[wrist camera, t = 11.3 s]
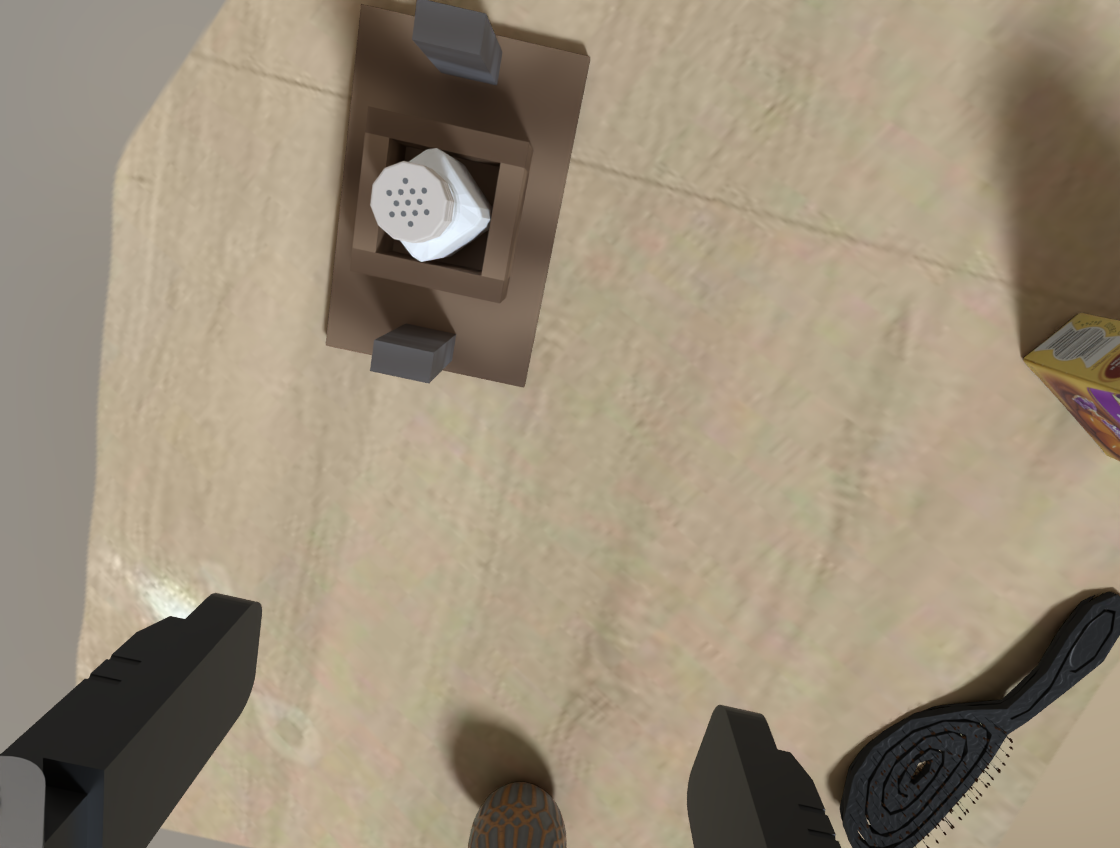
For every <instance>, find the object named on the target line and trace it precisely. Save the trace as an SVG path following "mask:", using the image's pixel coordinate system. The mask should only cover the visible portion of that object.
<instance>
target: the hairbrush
mask: <svg viewBox="0 0 1120 848" xmlns="http://www.w3.org/2000/svg"><path fill="white" fill-rule="evenodd" d="M1096 595H1097V594H1096ZM1094 596H1095V595H1094ZM1094 596H1092V597H1089V598H1087V599H1085V600H1083V601H1082V602H1081V603H1080V604H1079V605H1078V607H1077V608H1076V609H1075V610H1074V612H1073V613H1072V614H1071V615H1070V617H1069V618H1068V619H1067V621H1066V622H1065V623H1064V624H1063V626H1062V627H1061V628H1060V630H1059V631H1058V633H1057V635H1056V636H1055V638H1054V639H1053V641H1052V643H1051V644H1050V646H1049V648H1048V649H1047V651H1046V652H1045V654H1044V656H1043V657H1042V659H1041V661H1040V662H1039V664H1038V666H1037V667H1036V668H1035V669H1033V670H1032V671H1031V672H1030V673H1029V674H1028V675H1027V676H1026V677H1025V678H1024V679H1023V680H1022V681H1021V682H1020V683H1019V684H1018V685H1017V686H1016V687H1014V688H1013V689H1012V690H1011V691H1010V692H1009V693H1008V694H1007V695H1006V696H1005V697H1004V698H1003V699H1002V700H993V701H982V702H971V703H959V704H948V705H940V706H935V707H931V708H929V709H933V708H936V707H945V708H939V709H934V710H929V709H926V710H928V711H926V710H924V711H922V712H918V713H915V714H913V715H911V716H909V717H907V718H906V719H904V720H902V721H900V722H898V723H896V724H895V725H893V726H891V727H889V728H888V729H886V730H885V731H883V732H882V733H881V734H879V735H878V736H877V737H876V738H875V739H874V740H873V739H872V740H873V741H872V740H871V741H872V742H871V741H870V742H869V743H868V744H867V745H866V746H865V747H864V748H863V749H862V750H861V751H860V752H859V754H858V755H857V757H856V758H855V760H854V761H853V763H852V764H851V766H850V767H849V770H848V774H847V779H846V783H845V787H844V792H843V796H842V800H841V805H840V813H841V818H842V821H843V827H844V829H845V832H846V834H847V837H848V840H849V842H850V844H851V846H852V848H913V847H914V846H915V847H916V845H917V844H918V843H919V842H920V841H921V840H922V839H924V837H925V836H926V835H927V836H928V837H929V835H928V833H929V832H930V831H932V830H933V829H934V828H936V829H937V827H936V826H937V825H938V826H939V824H938V823H939V822H940V821H941V820H943V821H946V820H944V819H943V818H944V817H945V815H946V814H947V813H948V812H950V813H951V814H952V812H953V809H952V808H953V806H954V805H955V804H957V805H958V806H959V804H958V803H957V802H958V801H959V800H960V799H961V797H962V796H964V797H965V795H964V794H965V793H966V792H967V791H968V790H970V789H969V788H971V789H972V787H971V786H972V785H973V783H974V782H977V781H978V779H977V778H978V777H979V776H980V774H981V773H982V772H983V773H985V772H986V771H985V770H984V769H985V768H987V769H989V768H988V767H987V766H988V765H989V763H990V762H991V760H992V759H993V757H994V756H996V755H995V754H996V752H997V751H998V749H999V748H1000V746H1001V744H1002V743H1003V741H1004V739H1005V738H1006V737H1007V735H1008V734H1009V733H1011V732H1012V731H1014V730H1015V729H1017V728H1019V727H1020V726H1022V725H1023V724H1025V723H1026V722H1028V721H1029V720H1030V719H1032V718H1033V717H1034V716H1036V715H1037V714H1038V713H1039V712H1041V711H1042V710H1043V709H1044V708H1046V707H1047V706H1048V705H1050V704H1051V703H1052V702H1053V701H1055V700H1056V699H1057V698H1059V697H1060V696H1061V695H1062V694H1064V693H1065V692H1066V691H1068V690H1069V689H1070V688H1071V687H1073V686H1074V685H1075V684H1076V683H1077V682H1079V681H1080V680H1081V679H1082V678H1084V677H1085V676H1086V675H1087V674H1089V673H1090V672H1091V671H1092V670H1094V669H1095V668H1096V667H1097V666H1098V665H1100V664H1101V663H1102V662H1103V661H1104V659H1105V658H1106V656H1107V655H1108V653H1109V651H1110V650H1111V648H1112V647H1113V645H1114V643H1115V642H1116V640H1117V639H1118V637H1119V635H1120V596H1119V595H1117V594H1115V593H1112V592H1106V593H1104V594H1102V595H1100V596H1098V597H1097V598H1095V599H1093V600H1092V601H1090V600H1091V599H1092V598H1093V597H1094ZM1089 601H1090V602H1089ZM1105 609H1107V610H1105ZM980 723H981V724H982V726H983V727H982V726H981V724H980ZM959 733H961V734H962V735H963V734H964V735H963V736H962V735H960V734H959ZM1007 738H1008V737H1007ZM1008 739H1009V738H1008ZM1009 740H1010V742H1011V743H1013V741H1012V739H1011V738H1010V739H1009ZM1004 742H1005V741H1004ZM1000 749H1001V748H1000ZM1010 749H1012V750H1013V748H1012V747H1010ZM939 750H941V751H942V753H941V752H940V751H939ZM1001 750H1002V749H1001ZM1002 751H1003V750H1002ZM1003 752H1004V751H1003ZM1006 756H1007V757H1010V756H1009V755H1008V754H1006ZM996 757H997V756H996ZM997 758H998V757H997ZM998 759H999V758H998ZM927 760H928V761H927ZM999 760H1000V759H999ZM924 761H927V763H926V764H925V765H924V764H923V763H922V762H924ZM1000 761H1001V760H1000ZM920 762H921V763H922V764H923V765H924V767H923V769H922V770H921V769H920V768H919V767H918V766H917V765H918V763H920ZM1001 762H1002V761H1001ZM1002 764H1003V765H1004V766H1005V763H1002ZM916 767H918V768H917V769H918V770H919V772H920V773H919V772H918V773H919V774H918V773H916V772H915V770H916ZM994 768H995V767H994ZM995 769H996V768H995ZM997 769H998V770H997ZM997 769H996V770H997V771H998V772H999V773H1000V772H1001V770H1000V769H999V768H997ZM984 771H985V772H984ZM914 772H915V774H916V775H914V776H913V774H914ZM986 773H987V772H986ZM987 774H988V773H987ZM988 775H989V774H988ZM989 776H990V775H989ZM990 777H991V776H990ZM911 778H912V779H911ZM983 779H984V778H983ZM991 779H992V780H994V779H993V777H991ZM977 783H978V782H977ZM983 784H984V783H983ZM987 784H988V785H989V786H990V784H989V783H987ZM984 785H985V784H984ZM985 787H986V788H988V786H987V785H985ZM972 790H973V789H972ZM976 791H977V790H976ZM977 792H978V791H977ZM978 793H979V792H978ZM979 794H980V796H982V794H981V793H979ZM968 797H969V796H968ZM969 798H970V797H969ZM975 798H976V799H977V800H978V797H976V796H975ZM881 801H882V802H883V805H881ZM959 802H960V801H959ZM972 802H973V803H974V804H975V802H974V801H972ZM964 808H965V807H964ZM961 810H962V809H961ZM951 811H952V812H951ZM962 811H963V810H962ZM966 811H967V812H968V813H969V811H968V810H967V809H966ZM963 812H964V811H963ZM964 814H965V815H966V813H965V812H964ZM865 816H866V817H865ZM866 818H867V819H868V820H869V822H870V825H869V824H868V822H867V820H866ZM945 818H946V817H945ZM958 818H959V819H960V820H962V819H961V818H960V817H958ZM946 819H947V818H946ZM946 822H947V821H946ZM948 822H949V821H948ZM948 822H947V823H948ZM949 823H950V822H949ZM950 824H951V823H950ZM949 826H950V825H949ZM951 826H952V827H951ZM951 826H950V827H951V829H953V828H954V826H953V825H952V824H951ZM939 827H940V826H939ZM941 830H942V829H941ZM858 831H859V832H860V834H861V835H862V836H863V838H864V839H865V840H864V839H863V838H862V837H861V836H860V834H859V833H858ZM943 833H944V835H946V833H945V832H943ZM923 842H924V841H923ZM936 842H937V843H939V842H938V841H937V840H936ZM926 846H927V845H926ZM916 848H917V847H916ZM927 848H929V847H928V846H927Z"/></svg>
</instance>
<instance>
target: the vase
mask: <svg viewBox="0 0 1120 848" xmlns="http://www.w3.org/2000/svg"><path fill="white" fill-rule="evenodd" d="M468 848H567V847H566V830H565V825H564V821H563V818H562V815H561V812H560V810H559V808H558V806H557V804H556V802H555V801H554V800H553V799H552V797H551V796H550V795H549V794H548V793H547V792H545V791H544V790H543V789H541V788H539V787H538V786H536V785H533V784H530V783H526V782H515V783H510V784H507V785H505V786H502V787H500V788H499V789H497V790H496V791H494V792H493V793H492V794H490V795H489V796H488V798H487V799H486V800H485V801H484V803H483V804H482V806H481V807H480V809H479V811H478V813H477V815H476V817H475V819H474V822H473V825H472V829H471V832H470V837H469V843H468Z"/></svg>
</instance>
